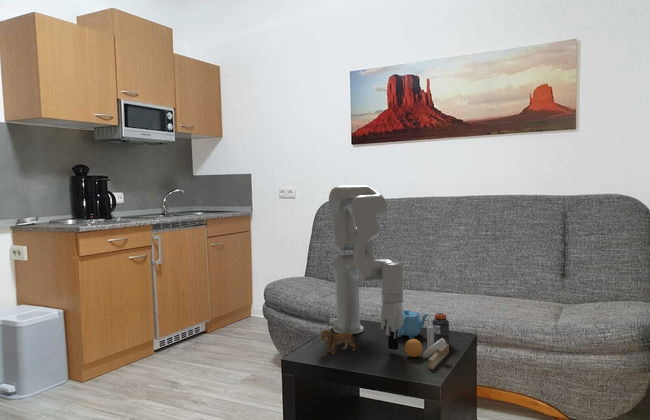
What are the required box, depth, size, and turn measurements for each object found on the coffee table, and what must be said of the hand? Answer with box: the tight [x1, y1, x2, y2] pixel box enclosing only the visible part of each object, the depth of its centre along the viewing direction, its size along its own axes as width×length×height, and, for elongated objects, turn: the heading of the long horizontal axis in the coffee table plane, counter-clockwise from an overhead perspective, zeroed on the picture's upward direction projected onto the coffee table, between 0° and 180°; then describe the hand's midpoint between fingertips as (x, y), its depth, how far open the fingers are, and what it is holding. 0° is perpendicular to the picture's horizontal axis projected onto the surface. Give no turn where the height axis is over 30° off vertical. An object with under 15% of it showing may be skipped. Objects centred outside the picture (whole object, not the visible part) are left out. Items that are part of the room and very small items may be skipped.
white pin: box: [422, 338, 446, 359], centre depth 161 cm, size 2×2×8 cm
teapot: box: [398, 309, 430, 339], centre depth 188 cm, size 18×14×10 cm
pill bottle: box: [432, 312, 450, 345], centre depth 177 cm, size 6×6×11 cm
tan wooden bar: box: [427, 343, 450, 370], centre depth 160 cm, size 2×18×3 cm, turn 149°
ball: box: [404, 338, 423, 358], centre depth 164 cm, size 6×6×6 cm
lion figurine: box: [319, 328, 358, 355], centre depth 171 cm, size 15×5×9 cm, turn 117°
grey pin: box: [426, 325, 434, 349], centre depth 169 cm, size 2×2×8 cm
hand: (393, 348), depth 168 cm, fingers closed
